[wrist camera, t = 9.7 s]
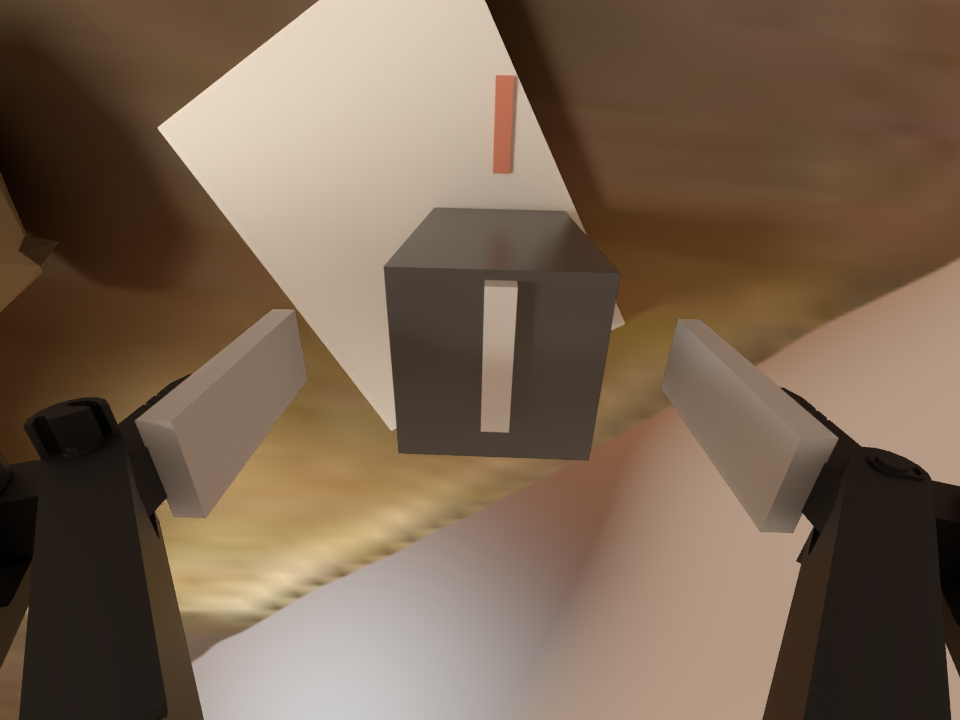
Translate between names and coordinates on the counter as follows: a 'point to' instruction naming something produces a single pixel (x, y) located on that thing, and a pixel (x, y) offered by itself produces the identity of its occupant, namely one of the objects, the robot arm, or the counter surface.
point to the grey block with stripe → (498, 334)
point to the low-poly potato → (17, 251)
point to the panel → (365, 155)
